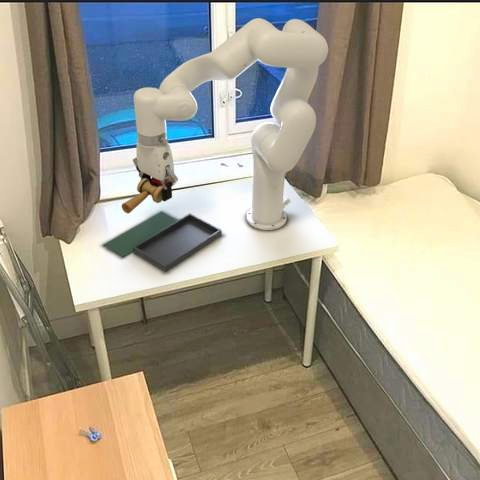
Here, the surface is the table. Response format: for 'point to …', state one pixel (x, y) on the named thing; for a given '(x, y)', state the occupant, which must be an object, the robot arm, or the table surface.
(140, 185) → the kendama
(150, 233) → the mat
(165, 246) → the dark grey flat tray
